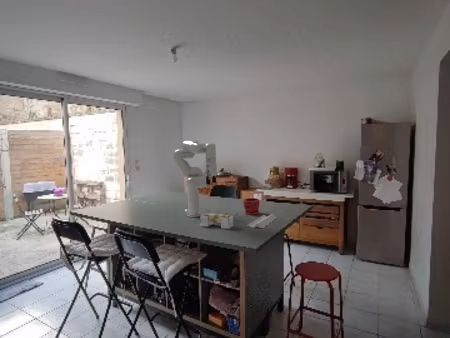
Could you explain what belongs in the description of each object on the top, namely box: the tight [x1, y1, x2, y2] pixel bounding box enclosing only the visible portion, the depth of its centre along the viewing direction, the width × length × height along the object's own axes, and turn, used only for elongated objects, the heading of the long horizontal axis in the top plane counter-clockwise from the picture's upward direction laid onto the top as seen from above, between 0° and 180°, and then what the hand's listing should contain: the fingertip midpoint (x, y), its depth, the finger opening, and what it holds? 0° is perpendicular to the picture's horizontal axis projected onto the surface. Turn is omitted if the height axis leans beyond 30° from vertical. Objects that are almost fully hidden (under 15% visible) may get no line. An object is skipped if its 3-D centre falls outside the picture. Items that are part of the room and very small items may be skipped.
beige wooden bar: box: [203, 212, 231, 224], centre depth 195 cm, size 18×4×5 cm, turn 67°
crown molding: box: [246, 213, 278, 229], centre depth 203 cm, size 31×12×4 cm, turn 151°
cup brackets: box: [199, 212, 234, 230], centre depth 195 cm, size 22×8×8 cm, turn 66°
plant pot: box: [242, 197, 260, 216], centre depth 230 cm, size 13×13×12 cm
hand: (211, 183), depth 207 cm, fingers open, 9 cm apart
